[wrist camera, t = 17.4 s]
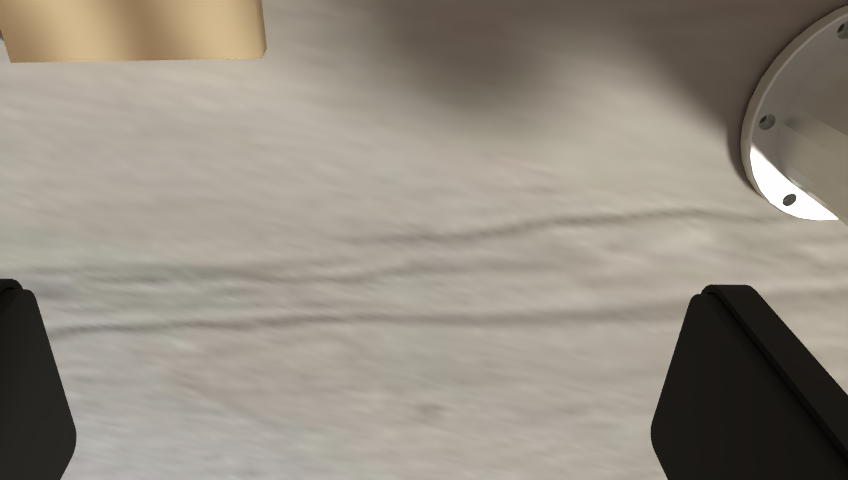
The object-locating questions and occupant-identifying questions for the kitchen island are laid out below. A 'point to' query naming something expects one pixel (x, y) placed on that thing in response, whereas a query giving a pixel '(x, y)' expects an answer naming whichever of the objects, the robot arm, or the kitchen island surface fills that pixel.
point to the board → (131, 30)
